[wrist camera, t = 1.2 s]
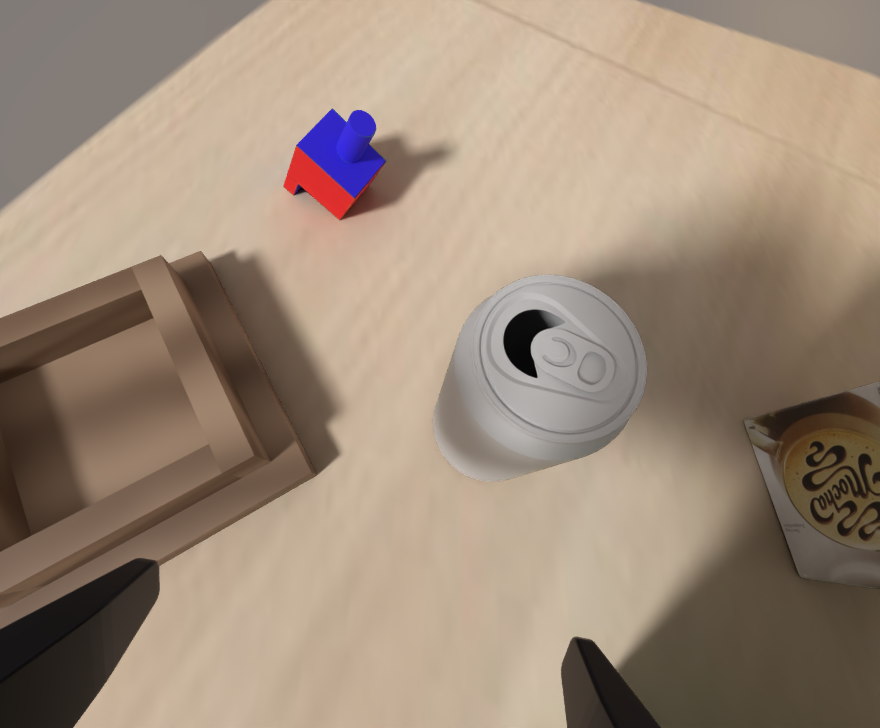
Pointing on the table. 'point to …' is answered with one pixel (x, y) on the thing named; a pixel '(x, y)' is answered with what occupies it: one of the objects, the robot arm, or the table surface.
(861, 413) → the coffee box
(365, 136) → the toy building block
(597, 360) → the beverage can
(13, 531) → the socket block
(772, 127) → the table surface
